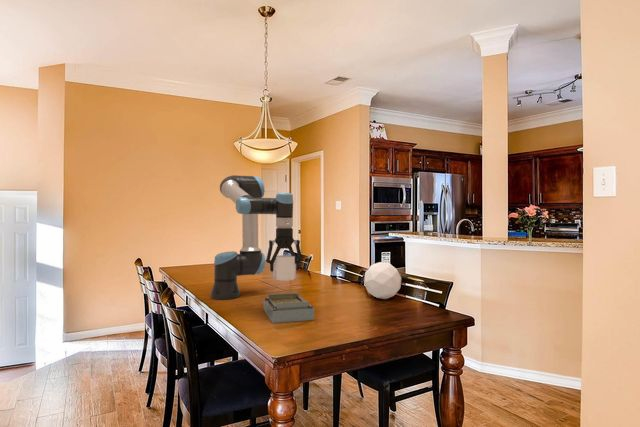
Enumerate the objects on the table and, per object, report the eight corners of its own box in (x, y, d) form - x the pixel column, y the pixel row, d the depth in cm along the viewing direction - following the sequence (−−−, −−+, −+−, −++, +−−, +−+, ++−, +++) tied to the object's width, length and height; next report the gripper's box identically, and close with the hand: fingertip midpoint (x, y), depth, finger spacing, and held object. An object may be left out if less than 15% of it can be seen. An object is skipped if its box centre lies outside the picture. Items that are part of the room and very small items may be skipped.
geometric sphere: (382, 308, 216) (393, 276, 225) (401, 303, 198) (412, 268, 207) (353, 291, 213) (365, 260, 222) (369, 285, 196) (382, 251, 205)
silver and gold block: (263, 309, 183) (263, 293, 183) (301, 307, 188) (301, 291, 188) (272, 323, 162) (272, 305, 162) (314, 319, 167) (314, 302, 167)
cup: (285, 281, 168) (285, 257, 168) (265, 278, 175) (265, 255, 175) (298, 278, 175) (298, 256, 175) (278, 276, 182) (278, 254, 182)
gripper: (261, 228, 169) (261, 280, 169) (309, 227, 175) (309, 278, 175) (259, 227, 176) (258, 277, 176) (305, 227, 182) (305, 275, 182)
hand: (284, 278), depth 175 cm, fingers closed on cup, 9 cm apart
